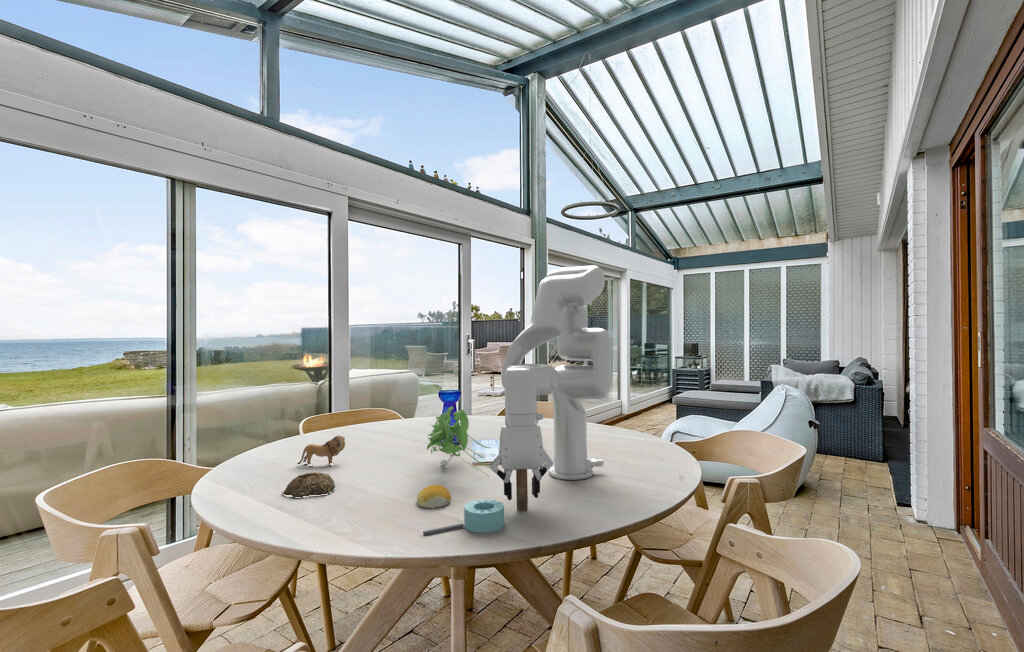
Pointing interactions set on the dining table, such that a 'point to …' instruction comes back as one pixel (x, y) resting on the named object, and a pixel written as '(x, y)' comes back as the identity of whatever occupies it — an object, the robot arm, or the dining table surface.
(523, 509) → the round-ended wooden dowel
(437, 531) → the thin grey bar
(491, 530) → the bead
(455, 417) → the plant cuttings
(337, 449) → the lion figurine
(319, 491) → the brown rock
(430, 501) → the bread roll
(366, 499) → the dining table surface
